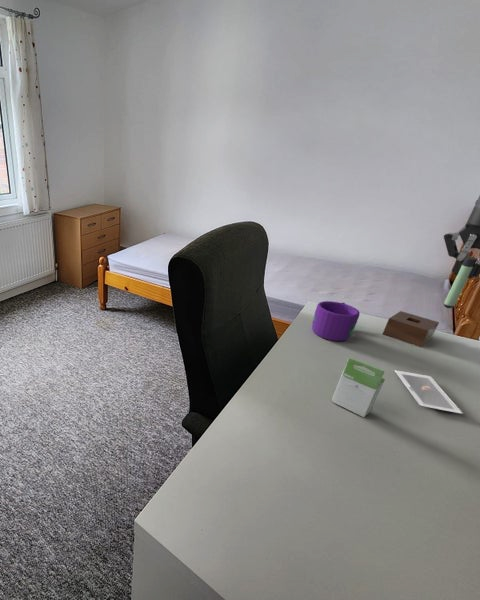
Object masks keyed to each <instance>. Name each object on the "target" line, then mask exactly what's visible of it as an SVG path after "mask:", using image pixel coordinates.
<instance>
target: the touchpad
mask: <svg viewBox="0 0 480 600" xmlns="http://www.w3.org/2000/svg"><path fill="white" fill-rule="evenodd" d="M394 372H395V373H396V375H397V376H398V378H399V379H400V381H401V382H402V384H404V386H405V387H406V388H407V390H408V391H409V392H410V394H411V395H412V397H413V398H414V400H415V401H416V403H418V405H419V406H420V407H426V408H431V409H435V410H441V411H446V412H451V413H456V414H464V412H462V410H461V409H460V408H459V407H458V406H457V405H456V404H455V403H454V402H453V400H452V399H451V398H450V397H449V396H448V395H447V393H446V392H445V391H444V390H443V389H442V388H441V386H439V384H438V383H437V381H436V380H435V379H434V378H433V377H432V376H431V375H425V374H420V373H414V372H407V371H402V370H396V369H395V370H394Z"/></svg>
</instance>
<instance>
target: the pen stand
mask: <svg viewBox="0 0 480 600" xmlns="http://www.w3.org/2000/svg"><path fill="white" fill-rule="evenodd" d="M439 324H440V322H439V321H436V320H433V319H430V318H427V317H422V316H420V315H415V314H412V313H409V312H406V311H402V310H400V311H398V312H396V313H395V314H393V315H392V316H390V317H389V318H388V319H387V322H386V325H385V327H384V329H383V332H382V335H383V336H386V337H390V338H393V339H396V340H398V339H399V340H398V341H401V340H402V341H401V342H404V343H407V344H409V345H413V344H414V345H413V346H416V347H418V346H419V348H422V347H423V346H424V345H426V344H427V343H428V342H429V341H430V340H431V339H432V338H433V336H434V334H435V332H436V330H437V328H438V326H439ZM428 340H429V341H428ZM427 341H428V342H427ZM421 346H422V347H421Z"/></svg>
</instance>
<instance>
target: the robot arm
mask: <svg viewBox="0 0 480 600" xmlns="http://www.w3.org/2000/svg"><path fill="white" fill-rule="evenodd" d="M459 237H460V239H461V241H462V243H463V247H462V249H461V250H460V252H459V250H458V246H457V242H456V241H457V240H459ZM443 241H444V243H445V247H446V251H447V255H448V256H449V257H450V258H451V257H452V258H454V259H455V260H456V261H455V263H454V265H453V267H452V269H451V272H452V273H453V276H457V275H458V273H459V271H460V268H461V266H462V264H463V262H464V260H465V258H466V257H469V255H470V253H471V252H472V251H473V249H477V250H480V195H479V196H478V198H477V199H476V201H475V202H474V206H473V208H472V210H471V213H470V215H469V217H468V218H467V220H466V223H465V225H464V226H463V227H462V228H460V230H459V231H454V232H448V233H445V234H444V235H443ZM478 276H480V253H479V254H478V258H477V261H476V263H475V265H474V267H473V269H472V271H471V273H470V274H469V276H468V279H475V278H477V277H478Z"/></svg>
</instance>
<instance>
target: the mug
mask: <svg viewBox="0 0 480 600" xmlns="http://www.w3.org/2000/svg"><path fill="white" fill-rule="evenodd" d="M360 315H361V314H360V311H359V310H358V308H356V307H354V306H352V305H349V304H346V303H345V302H338V301H332V300H325V301H320V302H319V303H317V304H316V308H315V311H314V315H313V320H312V324H311V329H312V332H313V333H314V334H315V335H317V336H318V337H320V338H322V339H325V340H328V341H332V342H343V341H346V340H348V339H349V338H350V337H351V336H352V334H353V332H354V330H355V328H356V326H357V323H358V320H359V317H360Z"/></svg>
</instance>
